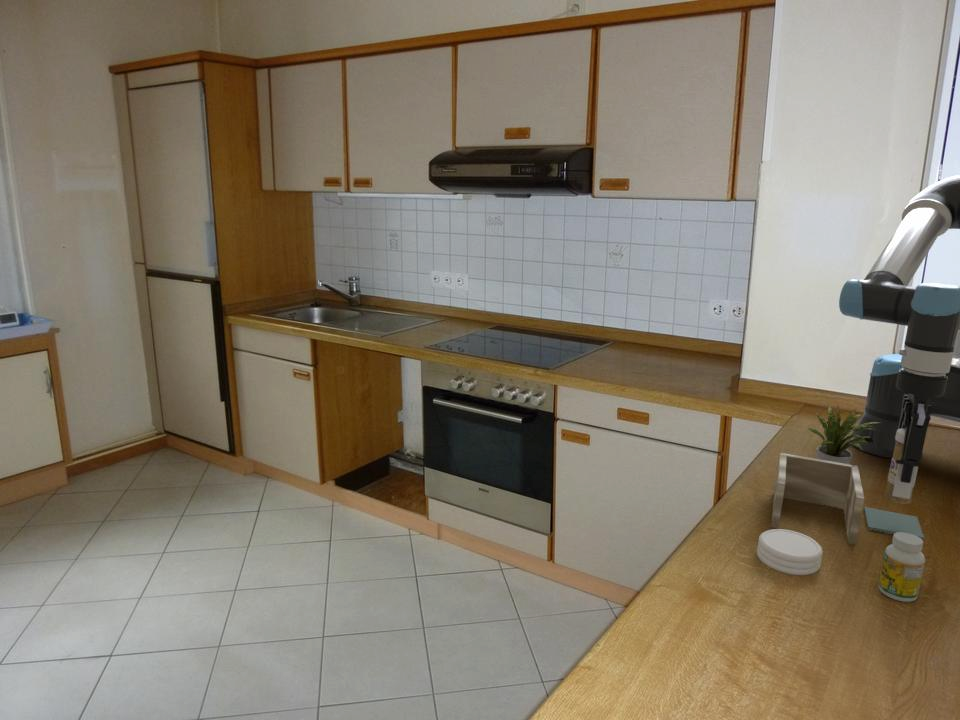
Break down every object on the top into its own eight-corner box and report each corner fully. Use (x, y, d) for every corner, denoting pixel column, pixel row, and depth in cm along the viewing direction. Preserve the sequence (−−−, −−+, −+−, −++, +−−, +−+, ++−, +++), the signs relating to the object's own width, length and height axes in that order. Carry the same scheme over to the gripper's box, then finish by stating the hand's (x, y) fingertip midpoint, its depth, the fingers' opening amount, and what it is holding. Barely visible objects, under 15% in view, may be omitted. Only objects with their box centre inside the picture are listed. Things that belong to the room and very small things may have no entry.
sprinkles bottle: (878, 494, 134) (891, 427, 131) (900, 494, 135) (914, 427, 131) (894, 505, 130) (908, 436, 126) (917, 504, 130) (931, 436, 127)
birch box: (774, 493, 145) (780, 452, 143) (850, 508, 140) (857, 465, 138) (771, 527, 131) (778, 482, 129) (855, 544, 126) (864, 498, 123)
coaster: (782, 540, 127) (785, 523, 126) (832, 568, 118) (836, 549, 117) (743, 553, 122) (746, 535, 121) (792, 582, 114) (795, 563, 113)
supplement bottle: (924, 603, 109) (936, 547, 106) (889, 602, 109) (901, 546, 106) (904, 583, 114) (915, 530, 111) (871, 582, 114) (881, 529, 111)
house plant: (854, 501, 143) (868, 425, 139) (785, 479, 152) (796, 407, 148) (875, 481, 153) (889, 409, 149) (809, 462, 162) (821, 394, 158)
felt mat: (863, 509, 139) (864, 506, 139) (916, 519, 136) (917, 516, 136) (867, 529, 131) (868, 526, 131) (923, 540, 128) (924, 537, 128)
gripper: (893, 357, 135) (872, 470, 141) (906, 379, 120) (881, 505, 125) (939, 362, 132) (915, 478, 138) (958, 386, 117) (930, 515, 123)
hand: (899, 491), depth 132 cm, fingers closed on sprinkles bottle, 4 cm apart
